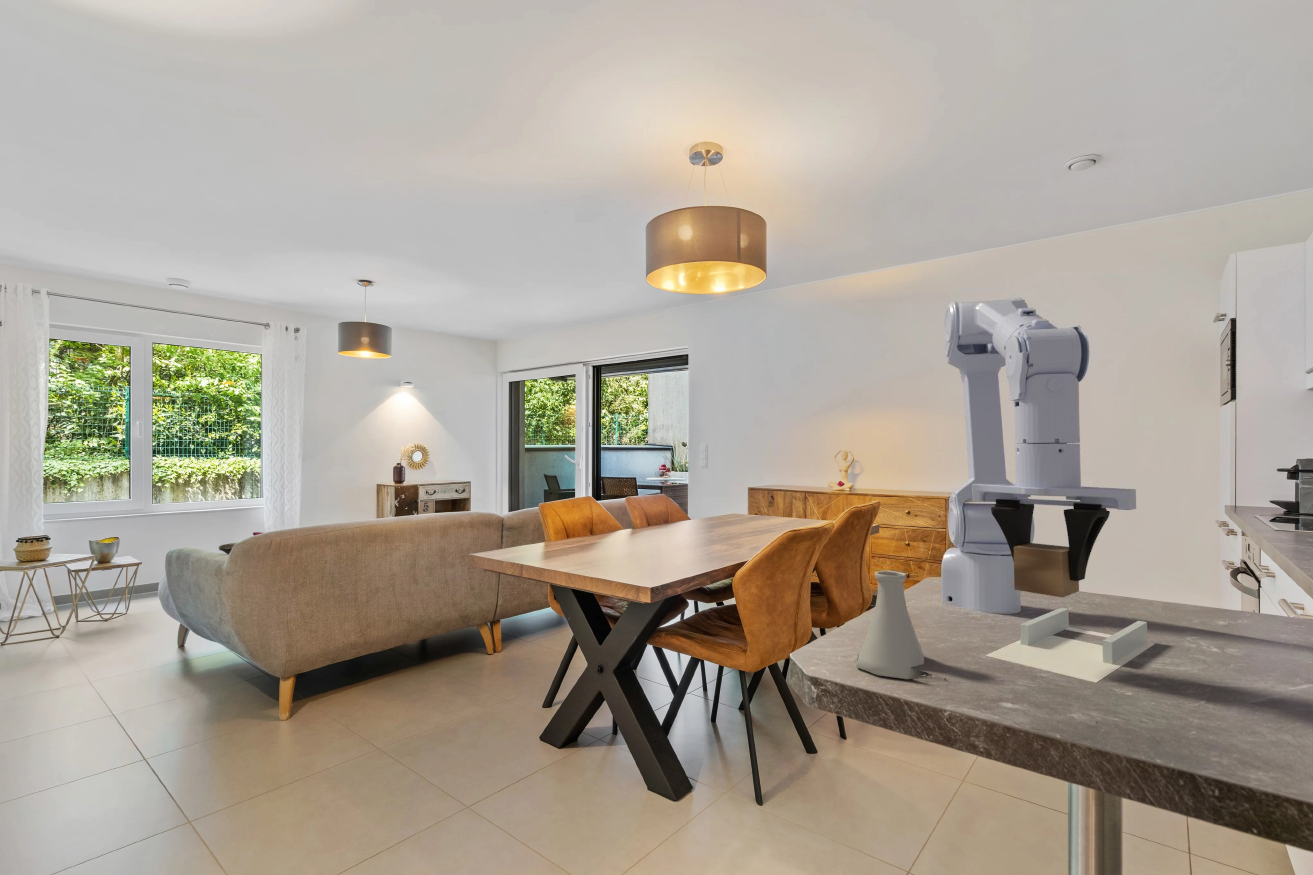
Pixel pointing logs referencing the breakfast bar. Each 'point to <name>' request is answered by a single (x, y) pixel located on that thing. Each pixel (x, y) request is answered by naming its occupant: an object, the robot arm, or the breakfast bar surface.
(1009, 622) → the breakfast bar surface
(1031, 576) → the walnut block
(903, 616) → the flask
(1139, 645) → the trap channel
